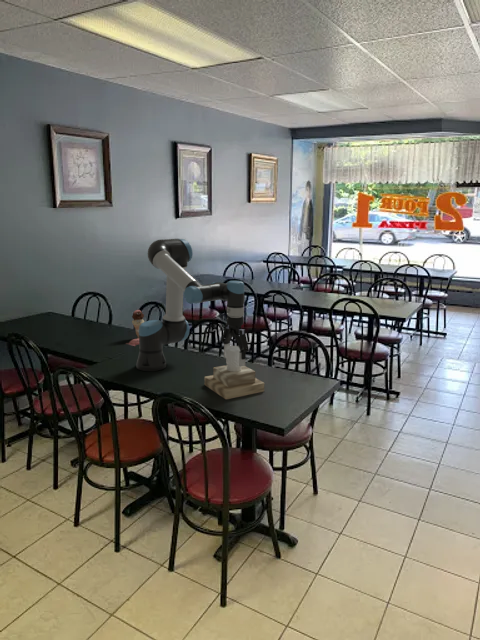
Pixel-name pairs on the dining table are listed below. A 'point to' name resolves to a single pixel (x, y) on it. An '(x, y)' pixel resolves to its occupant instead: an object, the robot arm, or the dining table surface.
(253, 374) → the oak riser
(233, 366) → the white cup
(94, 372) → the dining table surface
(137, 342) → the ice cream
